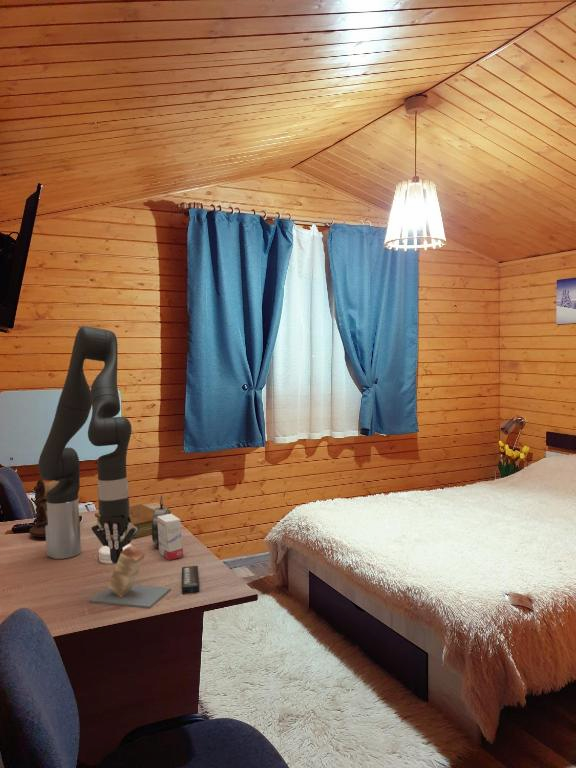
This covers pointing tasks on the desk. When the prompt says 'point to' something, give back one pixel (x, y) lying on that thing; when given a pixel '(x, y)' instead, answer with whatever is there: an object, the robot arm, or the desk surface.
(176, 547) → the ink box
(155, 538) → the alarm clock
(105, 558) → the coaster
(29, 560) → the desk surface
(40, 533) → the brown tall piece
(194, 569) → the multiport hub
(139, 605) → the felt mat
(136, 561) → the birch block
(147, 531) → the diary
